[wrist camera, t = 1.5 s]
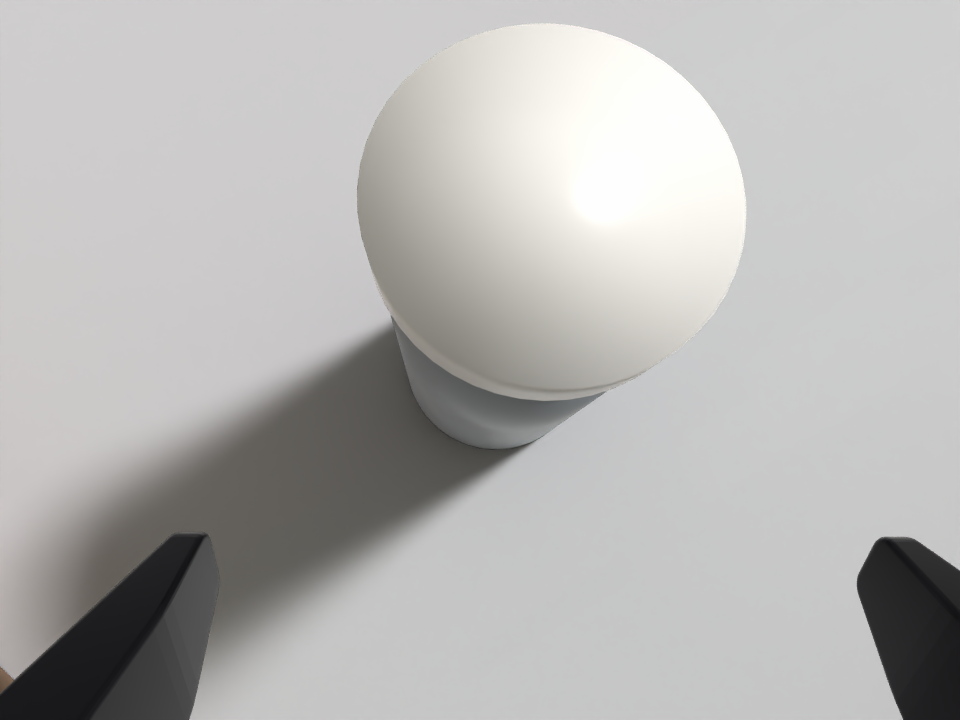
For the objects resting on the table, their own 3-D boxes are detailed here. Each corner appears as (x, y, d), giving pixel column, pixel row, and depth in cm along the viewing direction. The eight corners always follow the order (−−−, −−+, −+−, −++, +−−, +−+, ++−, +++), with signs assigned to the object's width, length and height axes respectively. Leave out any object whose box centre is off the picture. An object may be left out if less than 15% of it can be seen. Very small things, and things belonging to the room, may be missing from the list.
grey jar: (587, 454, 21) (759, 392, 10) (400, 451, 21) (346, 383, 9) (584, 276, 23) (733, 32, 11) (407, 271, 22) (366, 14, 11)
